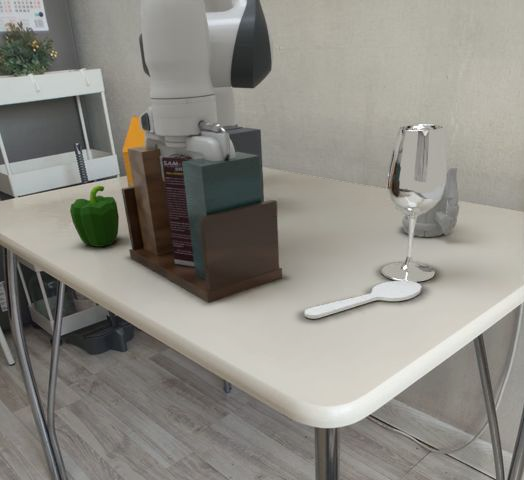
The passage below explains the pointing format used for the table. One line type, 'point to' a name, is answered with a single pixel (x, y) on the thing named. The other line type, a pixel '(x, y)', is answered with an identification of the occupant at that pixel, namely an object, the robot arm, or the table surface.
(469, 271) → the table surface
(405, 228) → the grey curved piece
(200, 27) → the robot arm
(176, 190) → the supplement box
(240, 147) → the grey books
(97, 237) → the bell pepper
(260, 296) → the table surface
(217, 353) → the table surface
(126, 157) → the orange juice
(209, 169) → the book rack
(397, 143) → the wineglass
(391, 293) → the spoon
